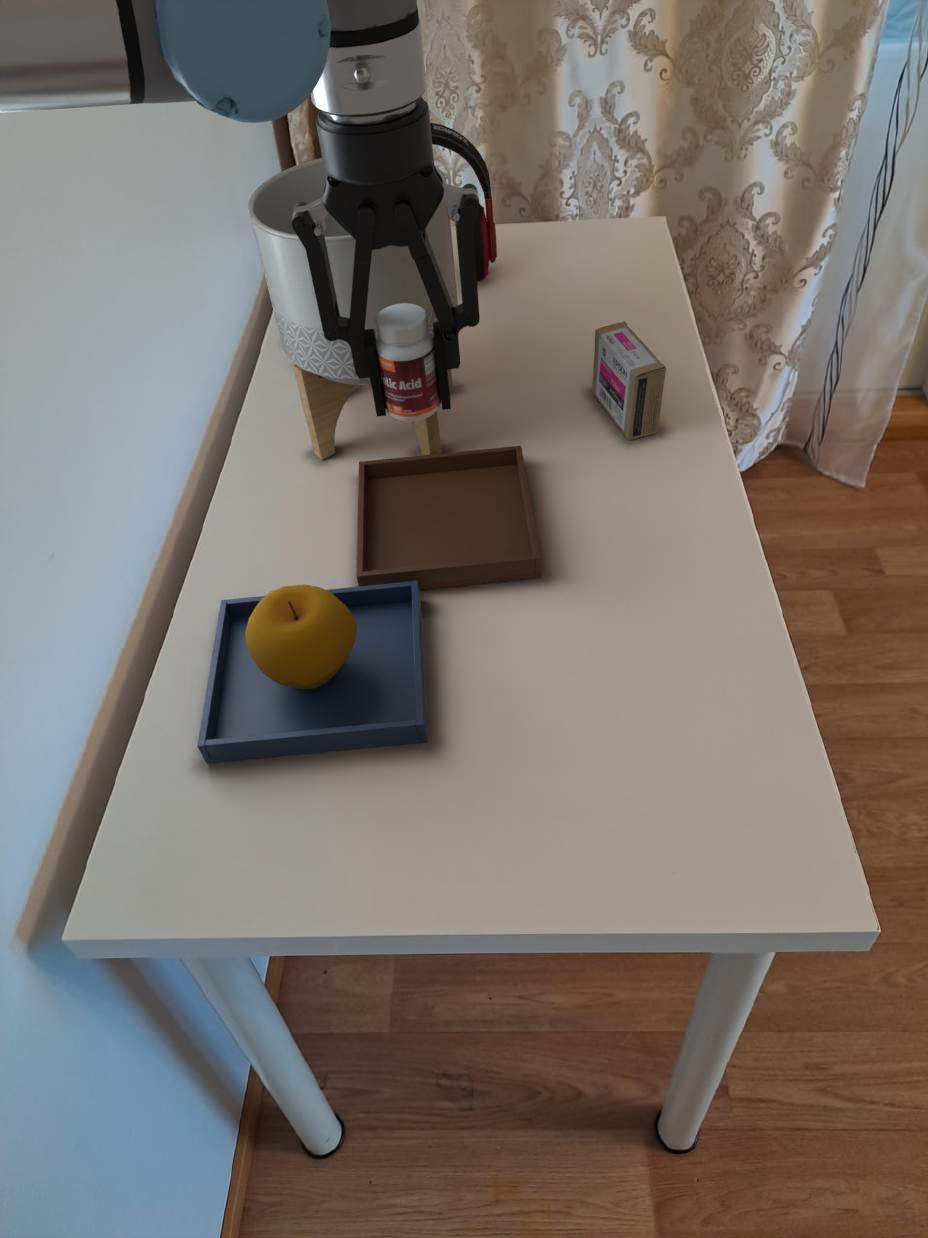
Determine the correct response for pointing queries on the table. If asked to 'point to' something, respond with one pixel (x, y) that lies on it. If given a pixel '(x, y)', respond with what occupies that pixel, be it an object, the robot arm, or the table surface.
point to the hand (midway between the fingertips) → (413, 403)
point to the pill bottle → (407, 362)
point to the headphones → (483, 228)
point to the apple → (300, 635)
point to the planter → (293, 299)
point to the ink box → (628, 380)
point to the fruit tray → (330, 714)
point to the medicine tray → (446, 520)
